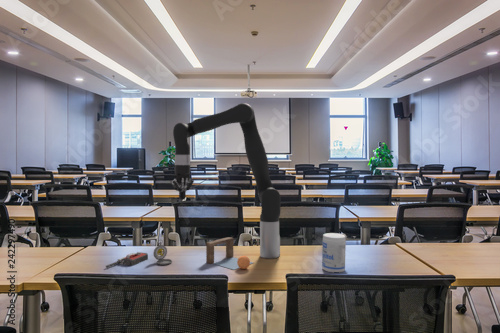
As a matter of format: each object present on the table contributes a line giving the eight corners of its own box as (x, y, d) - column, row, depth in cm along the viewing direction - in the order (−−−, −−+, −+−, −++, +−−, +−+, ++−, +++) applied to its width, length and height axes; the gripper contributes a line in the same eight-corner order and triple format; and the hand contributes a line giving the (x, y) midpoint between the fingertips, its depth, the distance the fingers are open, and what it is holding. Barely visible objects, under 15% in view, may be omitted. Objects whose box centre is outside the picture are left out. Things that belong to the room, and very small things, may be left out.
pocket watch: (168, 266, 149) (167, 243, 149) (150, 264, 150) (150, 242, 150) (175, 260, 157) (175, 239, 157) (159, 259, 158) (158, 238, 158)
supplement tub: (318, 270, 143) (318, 235, 143) (328, 264, 150) (328, 231, 150) (339, 275, 137) (339, 238, 137) (349, 269, 144) (349, 234, 144)
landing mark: (233, 257, 161) (233, 257, 161) (253, 263, 153) (253, 262, 153) (212, 263, 152) (212, 263, 152) (233, 270, 143) (233, 269, 143)
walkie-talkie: (135, 257, 164) (104, 269, 145) (135, 248, 164) (104, 259, 145) (150, 259, 160) (120, 272, 142) (150, 249, 160) (120, 261, 142)
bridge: (206, 262, 153) (206, 242, 153) (228, 255, 164) (228, 237, 164) (210, 264, 151) (210, 243, 151) (233, 257, 162) (233, 238, 162)
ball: (254, 261, 143) (249, 270, 146) (247, 252, 147) (243, 260, 149) (244, 263, 140) (239, 272, 142) (237, 253, 144) (233, 262, 146)
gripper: (176, 164, 158) (175, 201, 159) (197, 164, 168) (197, 199, 169) (166, 164, 163) (166, 199, 164) (188, 164, 173) (188, 197, 174)
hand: (182, 199), depth 166 cm, fingers closed
